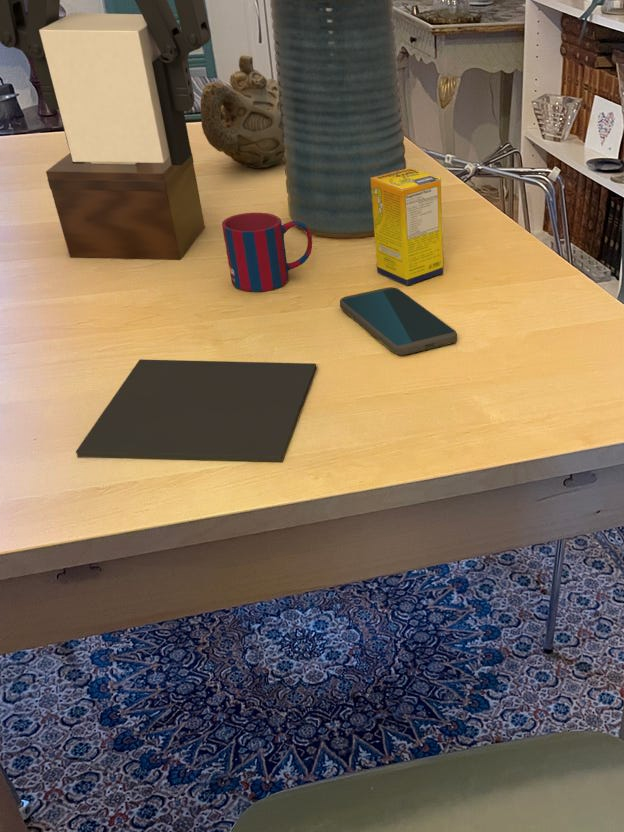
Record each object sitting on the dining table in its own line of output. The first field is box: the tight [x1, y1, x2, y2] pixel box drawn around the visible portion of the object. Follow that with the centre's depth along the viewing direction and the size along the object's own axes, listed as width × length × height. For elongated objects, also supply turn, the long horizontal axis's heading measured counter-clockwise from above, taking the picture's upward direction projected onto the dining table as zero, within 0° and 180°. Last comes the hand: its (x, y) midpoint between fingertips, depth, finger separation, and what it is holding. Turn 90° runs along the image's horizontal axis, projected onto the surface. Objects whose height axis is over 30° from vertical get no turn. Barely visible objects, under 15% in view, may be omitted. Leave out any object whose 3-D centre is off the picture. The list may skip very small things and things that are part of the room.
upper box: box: [39, 12, 170, 163], centre depth 66 cm, size 6×6×8 cm
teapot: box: [199, 54, 284, 169], centre depth 141 cm, size 21×12×15 cm, turn 159°
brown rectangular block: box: [45, 146, 206, 261], centre depth 118 cm, size 14×12×10 cm
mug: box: [221, 212, 313, 293], centre depth 110 cm, size 7×10×7 cm
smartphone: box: [339, 286, 458, 356], centre depth 102 cm, size 8×15×1 cm, turn 31°
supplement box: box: [371, 167, 444, 287], centre depth 110 cm, size 6×6×11 cm
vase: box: [269, 0, 407, 239], centre depth 118 cm, size 16×16×32 cm
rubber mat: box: [75, 358, 318, 463], centre depth 88 cm, size 18×18×1 cm
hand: (133, 158), depth 69 cm, fingers closed on upper box, 7 cm apart
